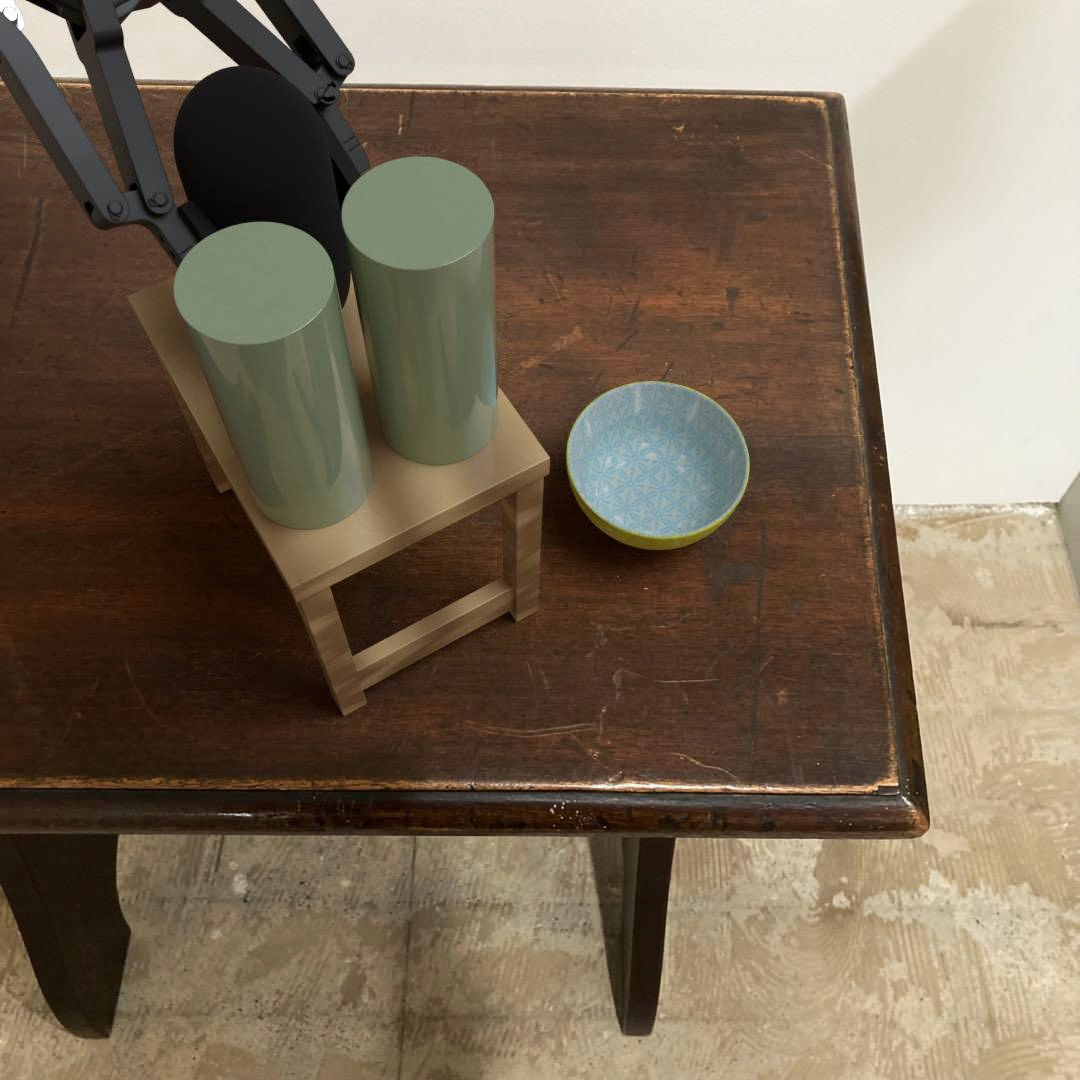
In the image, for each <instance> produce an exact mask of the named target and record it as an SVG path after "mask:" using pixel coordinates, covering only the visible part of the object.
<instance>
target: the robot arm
mask: <svg viewBox="0 0 1080 1080" xmlns="http://www.w3.org/2000/svg"><path fill="white" fill-rule="evenodd" d="M25 1H26V2H28V3H30V4H32V5H34V6H36V7H39V8H41V9H43V10H44V11H47V12H48V13H51V14H53V15H55V16H57V17H60V18H61V19H64V20H65V23H66V26H67V28H68V31H69V35H70V37H71V41H72V44H73V47H74V49H75V52H76V55H77V58H78V59H79V61H80V62H81V64H82V66H83V67H84V69H85V72H86V76H87V79H88V81H89V84H90V87H91V90H92V94H93V96H94V99H95V103H96V105H97V109H98V111H99V114H100V116H101V117H100V118H101V120H102V123H103V127H104V130H105V132H106V135H107V138H108V141H109V145H110V147H111V149H112V152H113V153H112V154H113V156H114V159H115V162H116V165H117V167H118V171H119V173H120V176H121V179H122V183H123V185H124V189H125V192H122V190H121V189H120V187H119V186H118V184H117V182H116V181H115V179H114V177H113V175H112V174H111V173H110V170H109V169H108V167H107V166H106V164H105V163H104V162H105V161H104V160H103V159H102V157H101V155H100V154H99V153H98V150H97V149H96V147H95V146H94V144H93V142H92V140H91V139H90V137H89V135H88V134H87V133H86V131H85V129H84V128H83V126H82V124H81V122H80V121H79V120H78V118H77V116H76V115H75V112H74V111H73V109H72V107H71V106H70V104H69V103H68V101H67V100H66V97H65V96H64V94H63V93H62V91H61V89H60V88H59V86H58V85H57V83H56V81H55V80H54V78H53V76H52V75H51V73H50V71H49V69H48V68H47V66H46V65H45V63H44V61H43V60H42V58H41V57H40V55H39V53H38V52H37V50H36V48H34V45H33V44H32V43H31V41H30V40H29V39H28V38H27V36H26V35H25V34H24V33H23V30H24V27H25V18H24V15H23V13H22V12H21V11H20V10H19V7H18V6H17V4H16V1H15V0H0V79H1V80H2V82H3V84H4V86H5V87H6V88H7V90H8V92H9V94H10V95H11V97H12V98H13V100H14V101H15V103H16V105H17V107H18V108H19V109H20V111H21V112H22V115H23V116H24V118H25V120H26V121H27V123H28V124H29V125H30V127H31V129H32V130H33V132H34V134H35V135H36V137H37V139H38V140H39V142H40V143H41V145H42V147H43V148H44V149H45V151H46V153H47V154H48V156H49V158H50V159H51V161H52V163H53V164H54V166H55V167H56V169H57V171H58V172H59V174H60V175H61V177H62V178H63V181H64V182H65V183H66V186H67V187H68V188H69V190H70V191H71V193H72V194H73V197H74V198H75V199H76V201H77V203H78V204H79V206H80V208H81V209H82V211H83V213H84V214H85V216H86V217H87V218H88V221H89V222H90V224H91V225H92V226H93V227H94V228H96V229H98V230H99V231H104V232H105V231H109V230H112V229H117V228H122V227H126V226H132V225H137V226H142V227H143V228H145V229H146V230H148V231H149V232H150V233H151V234H152V236H153V237H154V239H155V240H156V241H157V242H158V244H159V245H160V247H161V248H162V249H163V251H164V252H165V253H166V255H167V257H168V258H169V259H170V260H171V262H172V263H173V265H174V266H175V267H176V268H177V270H178V268H179V265H180V264H181V262H182V260H183V259H184V257H185V256H186V255H187V254H188V252H189V251H190V250H191V249H192V248H193V247H194V246H195V245H196V244H198V243H199V242H200V241H202V240H203V239H204V238H206V237H208V236H209V235H211V234H213V233H215V232H217V231H218V230H217V228H216V227H215V226H214V224H213V223H212V221H211V220H210V218H209V217H208V216H207V215H206V213H205V212H204V211H203V210H202V208H201V207H200V206H199V204H198V203H197V202H196V200H195V199H194V198H193V199H191V200H189V201H188V200H187V201H186V202H183V203H182V204H181V205H178V206H177V204H175V199H174V195H173V192H172V189H171V186H170V182H169V178H168V176H167V173H166V171H165V167H164V163H163V161H162V158H161V155H160V151H159V148H158V146H157V143H156V139H155V136H154V133H153V130H152V127H151V123H150V121H149V118H148V115H147V111H146V109H145V106H144V103H143V99H142V97H141V93H140V90H139V88H138V87H139V86H138V84H137V80H136V78H135V75H134V72H133V69H132V66H131V63H130V60H129V57H128V54H127V51H126V48H125V36H124V30H123V27H122V24H123V23H124V22H125V21H126V19H127V18H128V17H129V16H130V15H131V14H132V13H134V12H138V11H142V10H148V9H151V8H153V7H154V6H156V5H158V4H159V3H160V4H161V5H162V6H164V7H165V8H166V9H167V10H168V11H169V12H170V13H171V14H173V15H174V16H176V17H179V18H182V19H184V20H186V21H187V22H188V23H189V24H190V25H192V26H193V27H194V28H195V29H197V31H198V32H200V33H201V34H202V35H203V36H204V37H205V38H207V39H208V41H210V42H211V43H212V44H214V46H216V47H217V48H218V49H219V50H220V51H221V52H222V53H224V54H225V55H226V56H227V57H228V58H229V59H230V60H232V61H233V62H234V63H235V64H236V66H254V67H259V68H263V69H266V70H269V71H272V72H274V73H276V74H278V75H280V76H282V77H284V78H285V79H287V80H288V81H290V82H291V83H292V84H293V85H295V86H296V87H297V88H298V89H299V90H300V91H301V92H302V93H303V94H304V95H305V96H306V97H307V99H308V100H309V101H310V102H311V104H312V105H313V107H314V108H315V110H316V112H317V114H318V115H319V117H320V119H321V122H322V124H323V126H324V129H325V132H326V136H327V140H328V145H329V151H330V156H331V162H332V167H333V173H334V178H335V184H336V189H337V195H338V200H339V206H340V211H342V205H343V202H344V199H345V196H346V195H347V193H348V191H349V189H350V188H351V187H352V185H353V184H354V183H355V182H356V181H357V180H358V179H359V178H360V177H361V176H362V174H364V173H365V172H367V171H368V170H369V169H370V168H371V164H370V159H369V156H368V154H367V152H366V150H365V149H364V147H363V146H362V144H361V143H360V141H359V139H358V138H357V136H356V134H355V133H354V131H353V129H352V128H351V126H350V125H349V123H348V121H347V120H346V118H345V116H344V115H343V113H342V112H341V110H340V108H339V106H338V101H339V99H340V96H341V89H340V88H341V87H342V85H343V84H344V82H345V80H346V79H348V77H349V75H351V74H352V73H353V72H354V71H355V68H356V60H355V58H354V56H353V55H354V54H353V53H352V52H351V51H350V48H349V47H348V46H347V45H346V43H344V41H343V40H342V37H340V35H339V34H338V32H337V31H336V30H335V28H334V27H333V26H332V24H331V23H330V21H329V19H328V18H327V17H326V15H325V14H324V13H323V11H322V9H321V8H320V7H319V5H318V4H317V3H316V1H315V0H254V2H255V3H256V4H257V5H258V7H259V8H260V10H261V11H262V13H264V15H265V16H266V18H267V19H268V20H269V22H270V23H271V24H272V26H273V27H274V29H275V30H276V31H277V33H278V34H279V35H280V37H281V38H282V40H283V41H284V42H285V43H284V42H283V41H282V40H281V39H280V38H279V37H278V36H277V35H276V34H274V33H273V32H272V31H271V30H270V29H268V27H267V26H266V25H265V24H263V23H262V22H261V21H260V20H259V19H258V18H257V17H255V16H254V15H253V14H252V13H251V12H250V11H249V10H248V9H247V8H245V7H244V5H243V4H241V3H240V2H239V1H238V0H25Z"/></svg>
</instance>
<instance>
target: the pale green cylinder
mask: <svg viewBox="0 0 1080 1080" xmlns="http://www.w3.org/2000/svg"><path fill="white" fill-rule="evenodd" d="M495 217H496V216H495V204H494V201H493V197H492V194H491V192H490V191H489V189H488V187H487V186H486V184H485V183H484V182H483V180H481V178H480V177H478V175H476V174H475V173H474V172H473V171H471V170H469V168H467V167H465V166H463V165H461V164H459V163H457V162H454V161H451V160H448V159H445V158H439V157H434V156H421V155H420V156H408V157H400V158H396V159H391V160H389V161H385V162H383V163H381V164H379V165H376V166H375V167H372V168H371V169H370V170H369V169H368V170H367V171H365V172H364V173H363V174H361V177H360V178H359V179H358V180H357V181H356V182H355V183H354V184H353V185H352V187H351V188H350V189H349V191H348V193H347V195H346V196H345V199H344V202H343V205H342V211H341V221H342V226H343V231H344V237H345V242H346V248H347V253H348V259H349V264H350V269H351V275H352V280H353V286H354V291H355V297H356V302H357V308H358V313H359V318H360V324H361V329H362V335H363V340H364V346H365V351H366V357H367V362H368V367H369V373H370V378H371V384H372V389H373V395H374V400H375V405H376V411H377V416H378V422H379V427H380V430H381V433H382V435H383V437H384V439H385V440H386V442H387V443H388V444H389V446H390V447H391V448H392V449H393V450H394V451H396V452H397V453H398V454H400V455H401V456H403V457H405V458H407V459H409V460H411V461H414V462H417V463H421V464H426V465H448V464H453V463H457V462H460V461H463V460H465V459H467V458H469V457H471V456H473V455H475V454H476V453H477V452H479V451H480V450H481V449H482V448H483V447H484V446H485V445H486V444H487V443H488V442H489V441H490V439H491V438H492V436H493V434H494V432H495V430H496V427H497V423H498V416H499V407H498V386H499V368H498V367H499V364H498V363H499V361H498V359H499V358H498V322H497V321H498V320H497V319H498V318H497V317H498V315H497V313H498V312H497V277H496V276H497V272H496V271H497V269H496V268H497V267H496V265H497V264H496V225H495Z"/></svg>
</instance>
